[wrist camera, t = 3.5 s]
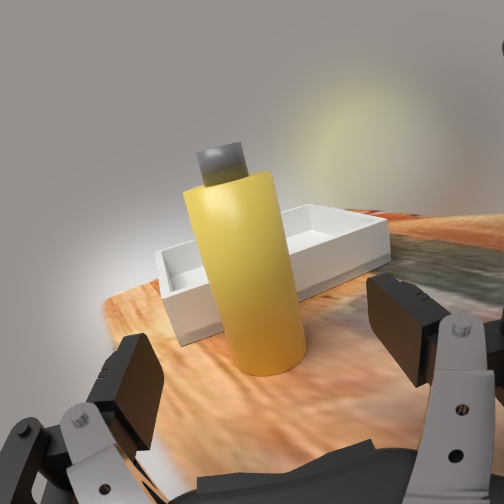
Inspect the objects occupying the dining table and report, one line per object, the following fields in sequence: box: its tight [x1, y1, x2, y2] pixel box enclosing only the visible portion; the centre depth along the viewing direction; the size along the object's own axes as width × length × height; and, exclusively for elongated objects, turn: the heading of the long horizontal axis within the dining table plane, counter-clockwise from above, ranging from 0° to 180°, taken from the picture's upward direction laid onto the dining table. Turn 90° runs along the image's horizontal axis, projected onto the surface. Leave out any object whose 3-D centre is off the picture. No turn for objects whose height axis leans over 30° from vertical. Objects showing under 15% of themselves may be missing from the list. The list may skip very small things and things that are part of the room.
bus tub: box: [155, 204, 391, 346], centre depth 34 cm, size 22×16×4 cm
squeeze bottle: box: [183, 142, 307, 376], centre depth 19 cm, size 5×5×14 cm
